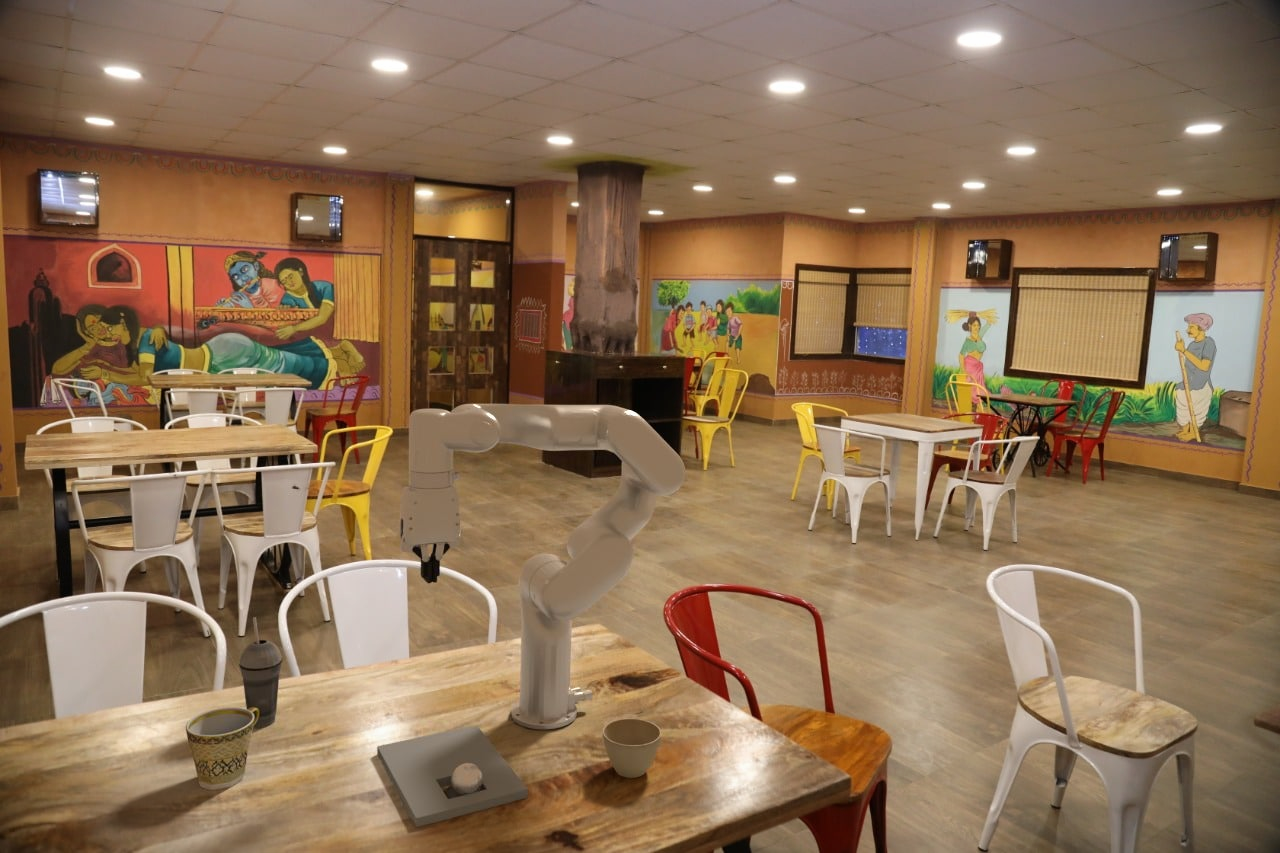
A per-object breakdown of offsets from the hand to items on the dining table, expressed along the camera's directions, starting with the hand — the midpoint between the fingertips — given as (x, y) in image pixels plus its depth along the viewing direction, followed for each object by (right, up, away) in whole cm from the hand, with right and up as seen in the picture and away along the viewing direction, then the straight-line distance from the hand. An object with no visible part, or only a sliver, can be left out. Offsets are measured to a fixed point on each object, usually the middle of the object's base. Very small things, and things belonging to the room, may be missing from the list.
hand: (430, 580), depth 154 cm
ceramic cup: (-30, -30, -12) cm, 44 cm away
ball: (+10, -29, -15) cm, 34 cm away
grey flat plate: (+6, -31, -9) cm, 33 cm away
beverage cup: (-33, -27, +6) cm, 43 cm away
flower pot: (+36, -32, -6) cm, 48 cm away
